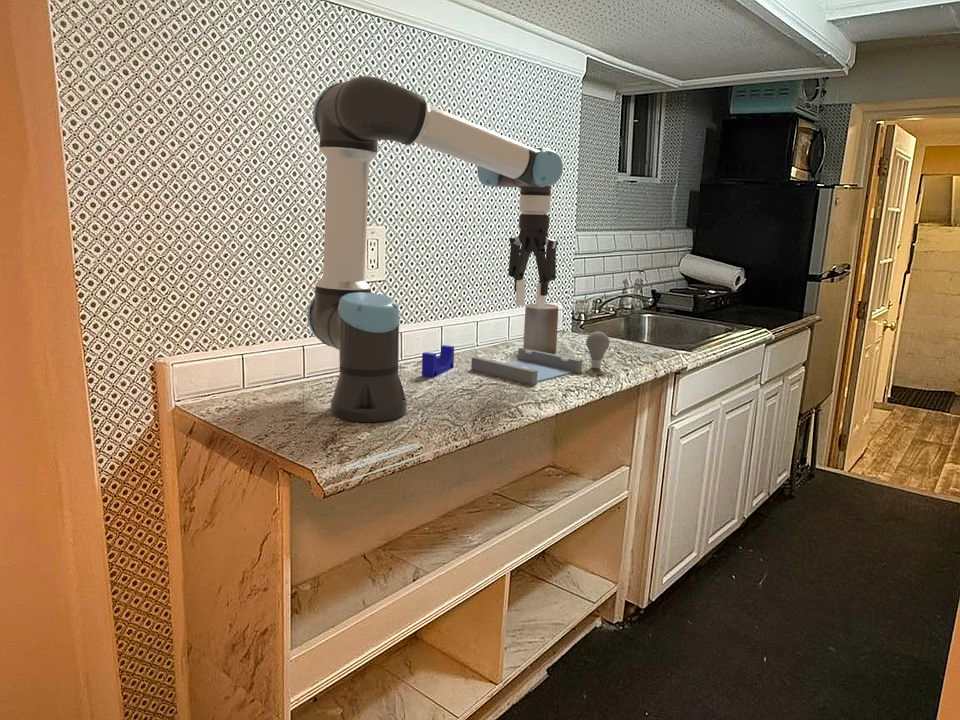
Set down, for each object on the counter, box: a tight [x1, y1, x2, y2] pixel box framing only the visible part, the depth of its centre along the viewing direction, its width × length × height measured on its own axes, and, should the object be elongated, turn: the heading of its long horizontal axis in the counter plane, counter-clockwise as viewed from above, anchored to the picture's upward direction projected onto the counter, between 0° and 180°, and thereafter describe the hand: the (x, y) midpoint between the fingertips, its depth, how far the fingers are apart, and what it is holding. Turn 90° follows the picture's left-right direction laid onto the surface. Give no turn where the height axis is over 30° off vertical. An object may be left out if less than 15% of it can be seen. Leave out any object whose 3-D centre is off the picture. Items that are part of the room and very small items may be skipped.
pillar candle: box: [522, 303, 559, 354], centre depth 199 cm, size 10×10×15 cm
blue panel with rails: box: [470, 347, 583, 386], centre depth 176 cm, size 21×20×3 cm
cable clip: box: [421, 344, 455, 379], centre depth 171 cm, size 12×4×6 cm, turn 158°
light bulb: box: [585, 330, 610, 370], centre depth 181 cm, size 6×6×10 cm
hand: (530, 306), depth 173 cm, fingers open, 6 cm apart
